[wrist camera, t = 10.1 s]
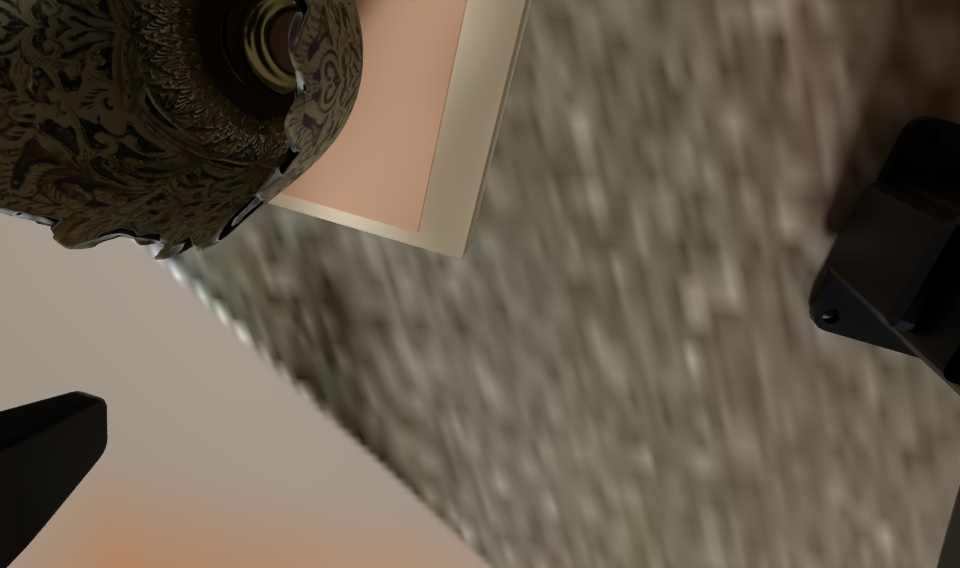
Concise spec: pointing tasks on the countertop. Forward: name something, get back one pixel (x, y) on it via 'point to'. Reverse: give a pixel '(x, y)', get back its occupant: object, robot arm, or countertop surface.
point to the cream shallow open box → (415, 120)
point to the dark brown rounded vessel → (165, 112)
